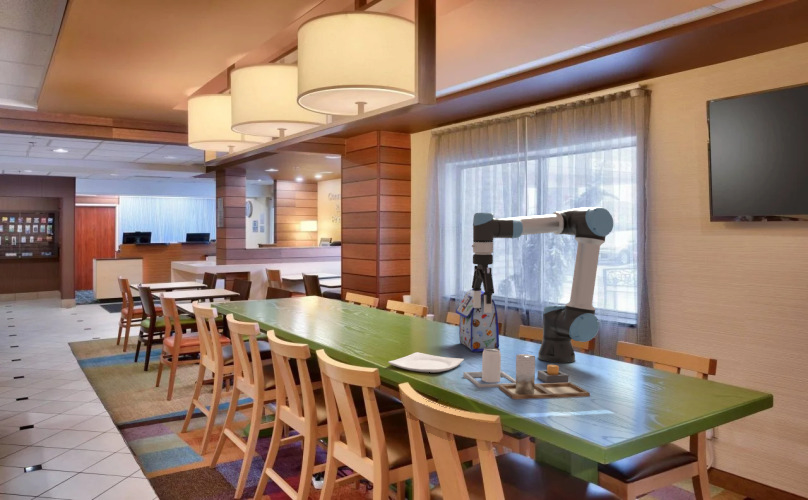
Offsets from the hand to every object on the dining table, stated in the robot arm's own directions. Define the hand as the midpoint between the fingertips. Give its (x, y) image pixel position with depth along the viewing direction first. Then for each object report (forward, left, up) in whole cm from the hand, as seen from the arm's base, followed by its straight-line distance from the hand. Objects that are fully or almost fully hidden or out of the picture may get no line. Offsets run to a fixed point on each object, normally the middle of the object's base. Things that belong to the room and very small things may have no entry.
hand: (482, 310), depth 212 cm
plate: (+18, -15, -25) cm, 34 cm away
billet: (-5, +30, -23) cm, 38 cm away
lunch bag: (-14, -48, -24) cm, 56 cm away
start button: (-21, +16, -22) cm, 35 cm away
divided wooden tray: (-11, +30, -24) cm, 40 cm away
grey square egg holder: (-21, +16, -24) cm, 36 cm away
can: (+1, +13, -24) cm, 28 cm away
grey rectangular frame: (+1, +13, -24) cm, 27 cm away
